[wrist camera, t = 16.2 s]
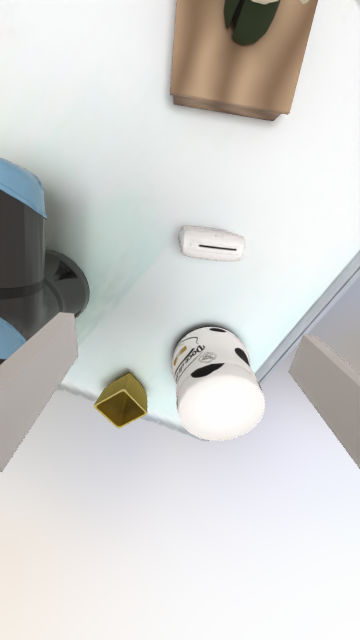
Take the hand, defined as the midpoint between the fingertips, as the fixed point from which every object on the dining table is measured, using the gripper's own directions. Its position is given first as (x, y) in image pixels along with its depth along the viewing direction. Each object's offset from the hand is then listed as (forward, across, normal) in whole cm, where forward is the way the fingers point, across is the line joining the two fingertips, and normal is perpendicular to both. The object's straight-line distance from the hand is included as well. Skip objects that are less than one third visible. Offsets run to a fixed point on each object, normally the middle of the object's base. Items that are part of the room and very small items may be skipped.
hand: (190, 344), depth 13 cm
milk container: (+35, +10, -23) cm, 43 cm away
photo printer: (+35, +5, +3) cm, 35 cm away
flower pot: (+35, -9, -34) cm, 50 cm away
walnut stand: (+35, +5, +30) cm, 46 cm away
